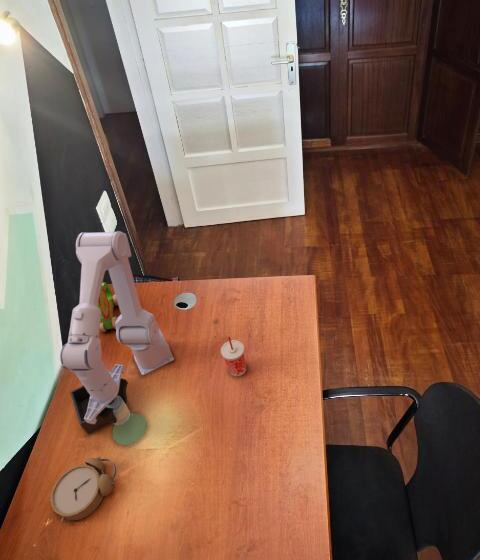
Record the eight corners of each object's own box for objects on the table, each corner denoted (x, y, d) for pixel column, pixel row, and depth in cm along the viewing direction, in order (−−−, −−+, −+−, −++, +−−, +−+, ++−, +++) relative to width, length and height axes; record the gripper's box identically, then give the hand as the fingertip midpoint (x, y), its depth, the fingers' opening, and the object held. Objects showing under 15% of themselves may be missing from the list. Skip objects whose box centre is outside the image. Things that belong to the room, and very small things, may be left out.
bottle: (127, 404, 119) (115, 385, 113) (133, 419, 116) (121, 400, 110) (108, 414, 117) (95, 395, 111) (114, 429, 114) (101, 410, 108)
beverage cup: (222, 375, 130) (212, 343, 120) (232, 357, 134) (223, 325, 124) (243, 381, 128) (234, 349, 118) (252, 363, 132) (245, 331, 122)
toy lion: (104, 302, 154) (86, 268, 143) (121, 299, 154) (104, 264, 144) (101, 340, 143) (81, 306, 132) (120, 336, 143) (101, 302, 132)
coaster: (140, 408, 125) (140, 407, 125) (151, 433, 120) (151, 433, 119) (108, 425, 122) (108, 424, 122) (118, 452, 117) (118, 451, 117)
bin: (117, 382, 131) (111, 371, 128) (130, 412, 124) (123, 401, 121) (78, 402, 128) (69, 391, 124) (88, 434, 121) (80, 424, 117)
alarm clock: (41, 489, 109) (97, 442, 113) (54, 495, 113) (108, 449, 117) (59, 529, 102) (118, 477, 106) (72, 533, 106) (129, 483, 110)
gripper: (97, 350, 111) (117, 383, 121) (63, 405, 101) (87, 436, 111) (124, 355, 110) (142, 387, 119) (92, 411, 100) (114, 441, 109)
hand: (117, 411), depth 115 cm, fingers closed on bottle, 5 cm apart
